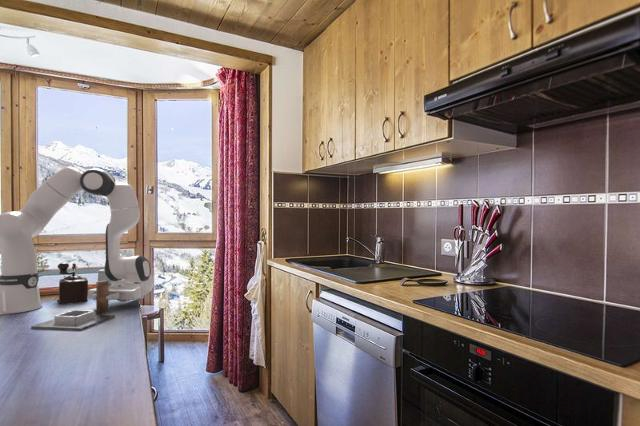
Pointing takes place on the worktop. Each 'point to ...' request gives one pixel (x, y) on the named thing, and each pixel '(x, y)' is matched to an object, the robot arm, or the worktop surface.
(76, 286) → the manual coffee grinder
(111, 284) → the skincare box
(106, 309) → the walnut peg
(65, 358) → the worktop surface
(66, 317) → the plate
